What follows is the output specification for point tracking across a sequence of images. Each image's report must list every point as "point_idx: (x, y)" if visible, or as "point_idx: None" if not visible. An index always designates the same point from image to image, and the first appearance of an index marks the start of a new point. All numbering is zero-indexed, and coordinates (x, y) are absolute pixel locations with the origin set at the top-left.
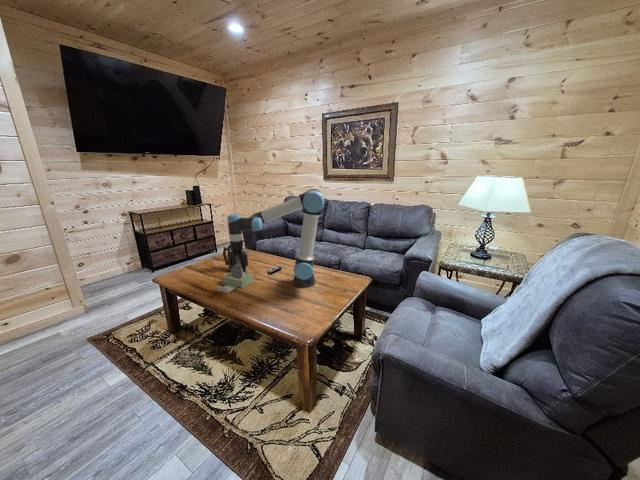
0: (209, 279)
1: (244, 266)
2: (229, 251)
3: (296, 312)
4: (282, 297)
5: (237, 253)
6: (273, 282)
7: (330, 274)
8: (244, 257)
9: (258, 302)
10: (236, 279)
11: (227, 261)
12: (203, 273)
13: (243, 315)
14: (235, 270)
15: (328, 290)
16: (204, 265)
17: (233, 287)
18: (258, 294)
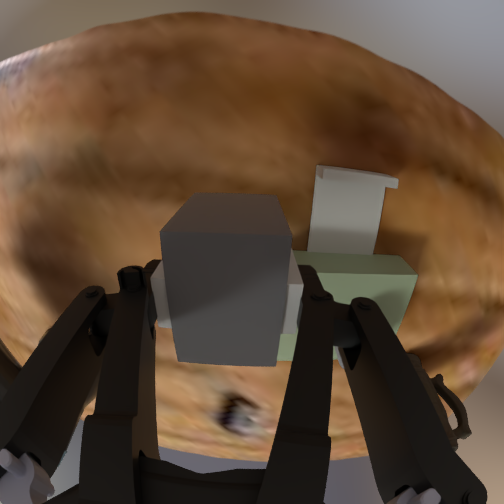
0: (465, 268)
1: (100, 288)
2: (434, 496)
3: None
4: (45, 237)
5: (118, 500)
6: (162, 344)
7: None
8: (14, 384)
9: (88, 150)
10: (319, 278)
11: (437, 390)
12: (492, 300)
13: (90, 36)
14: (225, 219)
15: (7, 323)
16: (495, 343)
17: (320, 234)
18: (136, 218)
